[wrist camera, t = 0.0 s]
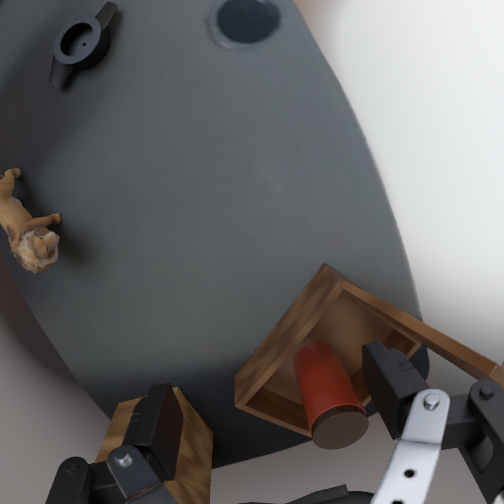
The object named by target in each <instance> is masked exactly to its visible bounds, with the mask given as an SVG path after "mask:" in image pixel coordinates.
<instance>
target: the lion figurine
mask: <svg viewBox="0 0 504 504" xmlns="http://www.w3.org/2000/svg"><path fill="white" fill-rule="evenodd" d="M13 176H14V177H15V178H20V177H21V170H20V169H18V168H14V169H10V170H8V171H6V172H5V177H4V175H0V224H1V225H2V227H3V228H4V229H5V231H6V232H7V234H8V240H9V242H10V246H11V247H12V252H14V257H15V258H17V261H18V262H19V263H20V264H21V266H22V267H23V268H25V269H26V270H27V271H32V272H33V273H37V272H40V271H45V270H47V269H48V267H49V266H51V265H52V264H53V263H55V262H56V260H57V259H58V248H57V244H58V242H59V236H58V235H56V234H55V233H54V232H51V231H49V230H48V228H47V226H48V225H49V224H53V223H54V224H59V223H60V222H61V217H60V214H57V213H56V214H51V215H49V216H47V217H40V218H34V219H33V218H32V217H31V215H30V214H29V213H28V211H27V210H26V209H25V208H24V207H23V206H22V203H21V202H20V201H19V200H18V199H15V198H13V197H12V196H11V194H12V191H13V187H14V177H13Z"/></svg>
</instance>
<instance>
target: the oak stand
mask: <svg viewBox="0 0 504 504" xmlns="http://www.w3.org/2000/svg"><path fill="white" fill-rule="evenodd" d="M173 390H174V393H175V395H176V397H177V399H178V402H179V404H180V406H181V408H182V411H183V416H184V423H183V429H182V435H181V441H180V447H179V453H178V459H177V466H176V472H175V479H174V481H164V486H165V488H166V489H167V490H168V491H169V493H170V494H171V495H172V496H173V498H174V499H175V500H176V501H177V503H178V504H210V483H211V466H212V449H213V432H212V431H211V430H210V429H209V427H208V426H207V425H206V424H205V422H204V421H203V420H202V418H201V417H200V416H199V415H198V413H197V412H196V411H195V409H194V408H193V407H192V405H191V404H190V403H189V401H188V400H187V399H186V397H185V396H184V395H183V393H182V392H181V391H180V389H179V388H178V387H175V388H173ZM144 397H147V396H144ZM141 398H142V397H140V398H137V399H133V400H129V401H126V402H122V403H119V404H118V406H117V409H116V411H115V413H114V416H113V418H112V421H111V423H110V426H109V428H108V431H107V433H106V436H105V438H104V441H103V444H102V446H101V448H100V451H99V453H98V456H97V459H96V461H95V463H97V462H101V461H105V460H107V457H108V455H109V454H110V452H111V451H112V450H114V449H115V448H117V447H120V446H121V444H122V441H123V438H124V436H125V433H126V430H127V427H128V424H129V422H130V418H131V416H132V413H133V410H134V407H135V405H136V404H137V403H138V401H139V400H140V399H141Z"/></svg>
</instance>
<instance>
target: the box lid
mask: <svg viewBox="0 0 504 504" xmlns="http://www.w3.org/2000/svg"><path fill="white" fill-rule="evenodd" d="M340 287H341V288H342V289H344V290H345V291H347V292H348V293H349V294H351V295H352V296H354V297H355V298H357V299H358V300H360V301H361V302H363V303H364V304H366V305H367V306H368V307H370V308H371V309H373V310H374V311H376V312H377V313H379V314H380V315H381V316H383V317H384V318H386V319H387V320H389V321H390V322H392V323H393V324H394V325H396V326H397V327H399V328H400V329H402V330H403V331H404V332H406V333H407V334H409V335H410V336H412V337H413V338H415V339H416V340H417V341H419V342H420V343H422V344H423V345H424V346H426V347H428V348H429V349H431V350H432V351H434V352H435V353H437V354H438V355H440V356H442V357H443V358H445V359H446V360H448V361H450V362H451V363H453V364H454V365H456V366H457V367H459V368H460V369H462V370H463V371H465V372H466V373H468V374H470V375H471V376H473V377H474V378H476V379H477V380H479V381H480V380H492V381H495V382H497V383H498V384H499V385H500V386H501V387H502V388H503V389H504V362H503V364H502V365H501V367H500V366H499V365H498V364H497V363H495V362H493V361H492V360H490V359H488V358H486V357H485V356H483V355H481V354H479V353H477V352H476V351H474V350H472V349H470V348H468V347H467V346H465V345H463V344H461V343H459V342H458V341H456V340H454V339H452V338H450V337H448V336H447V335H445V334H443V333H441V332H439V331H438V330H436V329H434V328H432V327H430V326H428V325H426V324H425V323H423V322H421V321H419V320H417V319H415V318H414V317H412V316H410V315H408V314H406V313H404V312H402V311H401V310H399V309H397V308H395V307H393V306H391V305H389V304H388V303H386V302H384V301H382V300H380V299H378V298H376V297H374V296H373V295H371V294H369V293H367V292H365V291H363V290H361V289H359V288H357V287H356V286H354V285H352V284H350V283H348V282H346V281H344V280H343V281H342V283H341V285H340Z"/></svg>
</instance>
